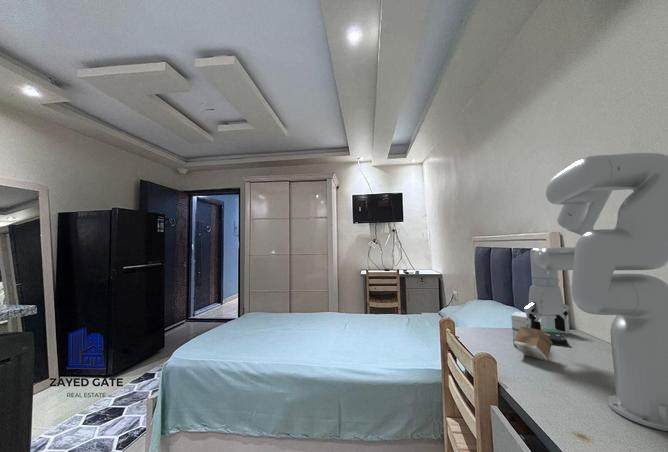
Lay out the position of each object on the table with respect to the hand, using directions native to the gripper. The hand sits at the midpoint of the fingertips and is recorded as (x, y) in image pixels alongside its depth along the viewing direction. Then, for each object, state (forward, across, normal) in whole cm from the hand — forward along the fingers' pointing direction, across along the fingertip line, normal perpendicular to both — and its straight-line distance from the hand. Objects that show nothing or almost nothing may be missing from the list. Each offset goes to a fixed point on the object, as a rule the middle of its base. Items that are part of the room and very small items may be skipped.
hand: (548, 331), depth 96 cm
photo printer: (+9, -28, -24) cm, 38 cm away
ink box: (+9, 0, -11) cm, 14 cm away
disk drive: (+10, -15, -15) cm, 24 cm away
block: (+1, +5, 0) cm, 5 cm away
